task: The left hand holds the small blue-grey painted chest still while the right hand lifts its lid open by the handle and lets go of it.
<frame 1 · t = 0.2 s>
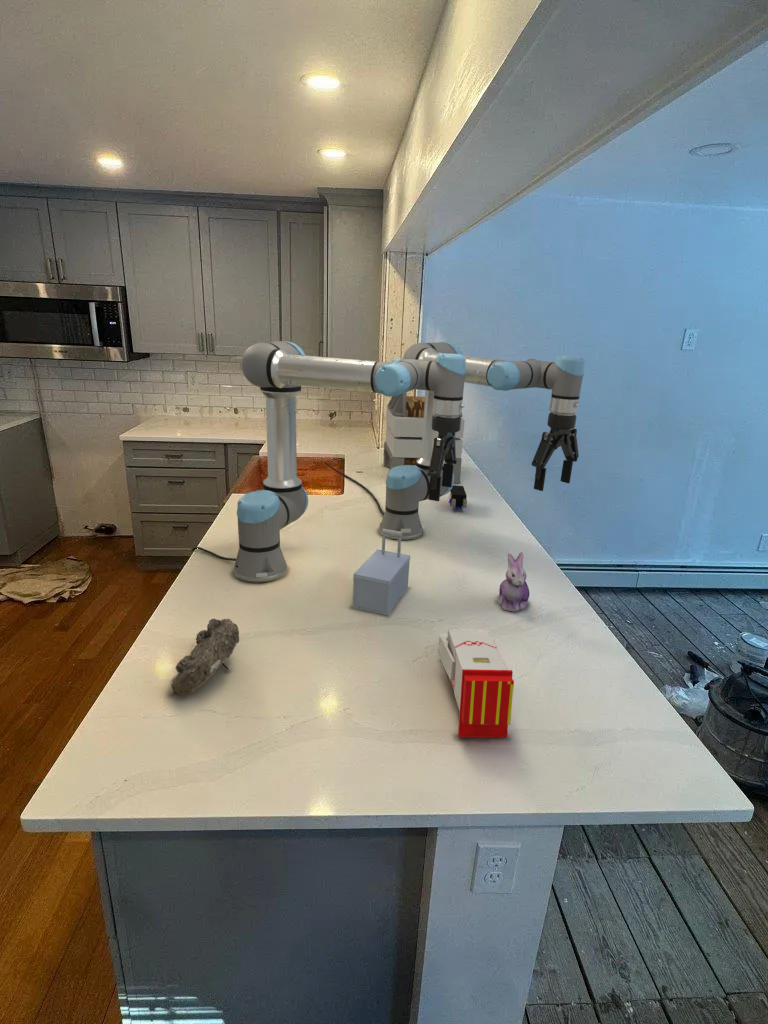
left hand: (440, 493, 154), 28 cm above the counter, tool pointing down, fingers open, 13 cm apart
right hand: (551, 485, 166), 28 cm above the counter, tool pointing down, fingers open, 13 cm apart
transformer: (419, 473, 275), on the counter
figurine: (513, 604, 155), on the counter
toy: (469, 691, 119), on the counter
chest: (381, 597, 156), on the counter
lid: (383, 553, 151), point 13 cm above the counter, hinge at 0.0°
fossil: (211, 668, 122), on the counter
figurine character: (456, 507, 229), on the counter
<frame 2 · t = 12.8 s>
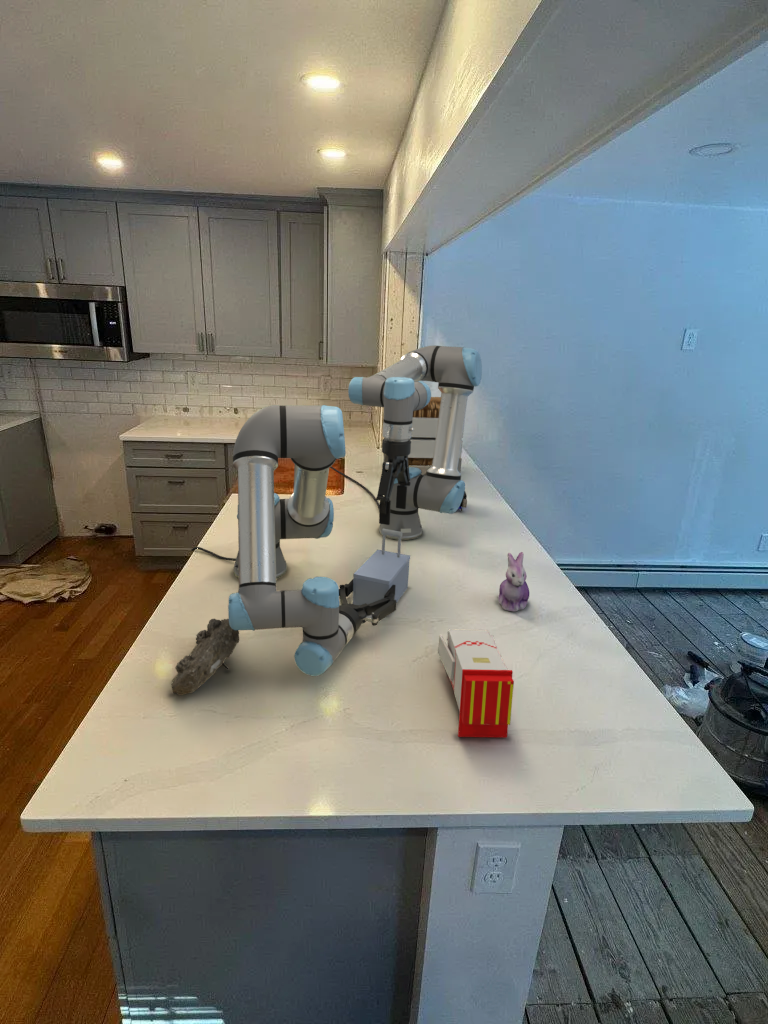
left hand: (374, 585, 148), 6 cm above the counter, tool horizontal, fingers closed on chest, 10 cm apart
right hand: (392, 515, 154), 22 cm above the counter, tool pointing down, fingers open, 13 cm apart
chest: (381, 597, 156), on the counter, touching left hand
everything else where it was.
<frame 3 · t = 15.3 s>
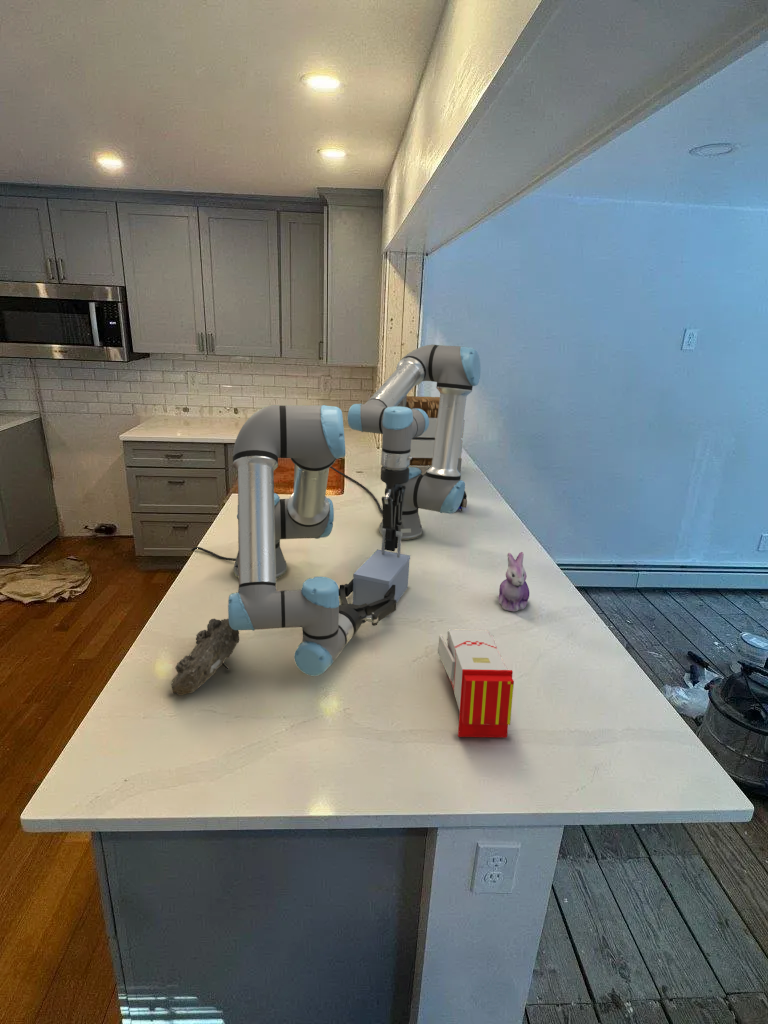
left hand: (374, 585, 148), 6 cm above the counter, tool horizontal, fingers closed on chest, 10 cm apart
right hand: (391, 548, 157), 12 cm above the counter, tool pointing down, fingers closed on lid, 1 cm apart
chest: (381, 597, 155), on the counter, touching left hand
lid: (383, 553, 151), point 13 cm above the counter, hinge at 0.0°, touching right hand
everything else where it was.
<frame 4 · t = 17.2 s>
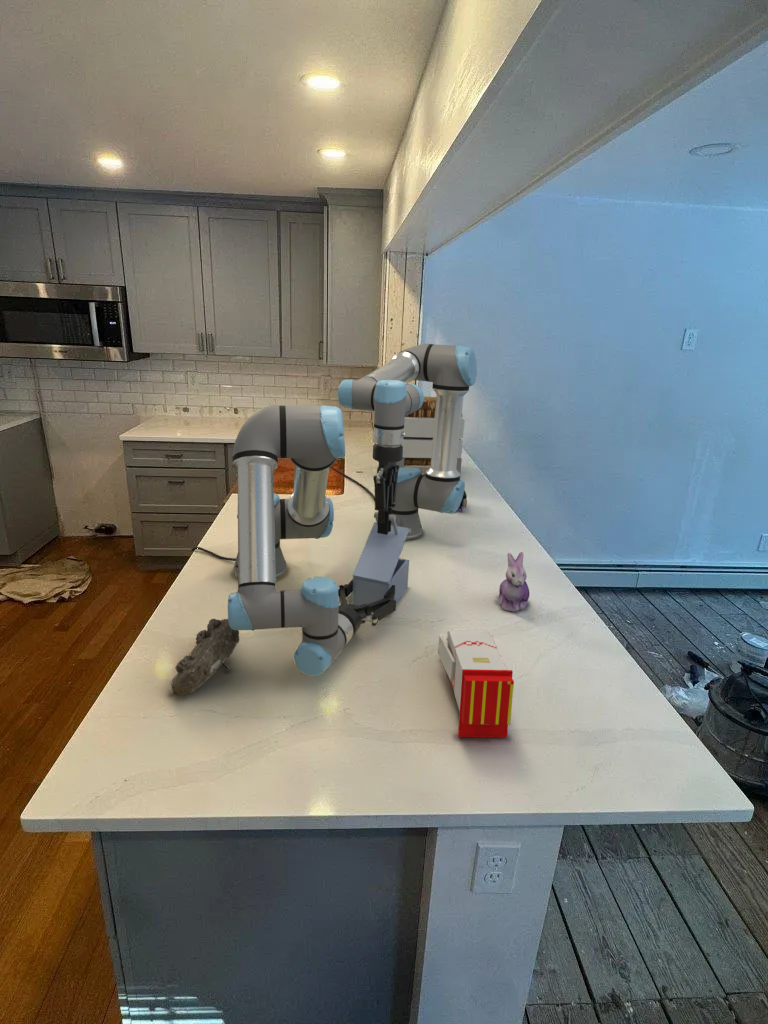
left hand: (374, 585, 148), 6 cm above the counter, tool horizontal, fingers closed on chest, 10 cm apart
right hand: (384, 531, 149), 19 cm above the counter, tool pointing down, fingers closed on lid, 1 cm apart
chest: (380, 597, 155), on the counter, touching left hand
lid: (379, 543, 147), point 17 cm above the counter, hinge at 32.7°, touching right hand
everything else where it was.
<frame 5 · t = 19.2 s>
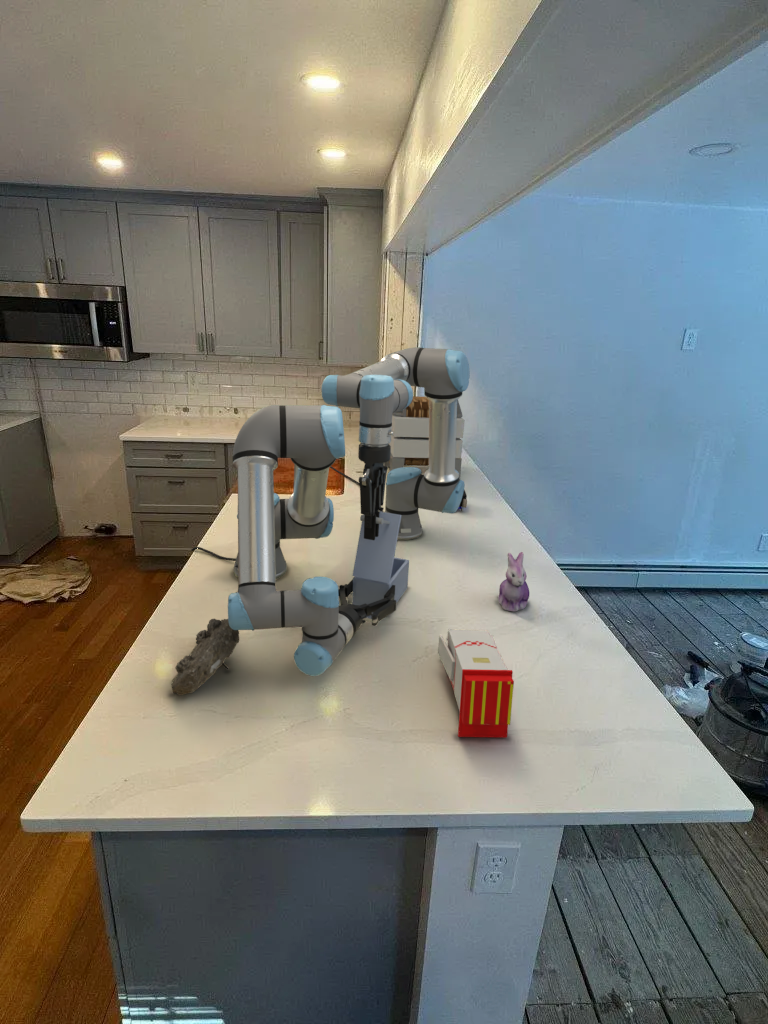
left hand: (374, 585, 148), 6 cm above the counter, tool horizontal, fingers closed on chest, 10 cm apart
right hand: (371, 537, 140), 22 cm above the counter, tool pointing down, fingers closed
chest: (380, 597, 155), on the counter, touching left hand
lid: (372, 545, 141), point 19 cm above the counter, hinge at 67.1°
everything else where it was.
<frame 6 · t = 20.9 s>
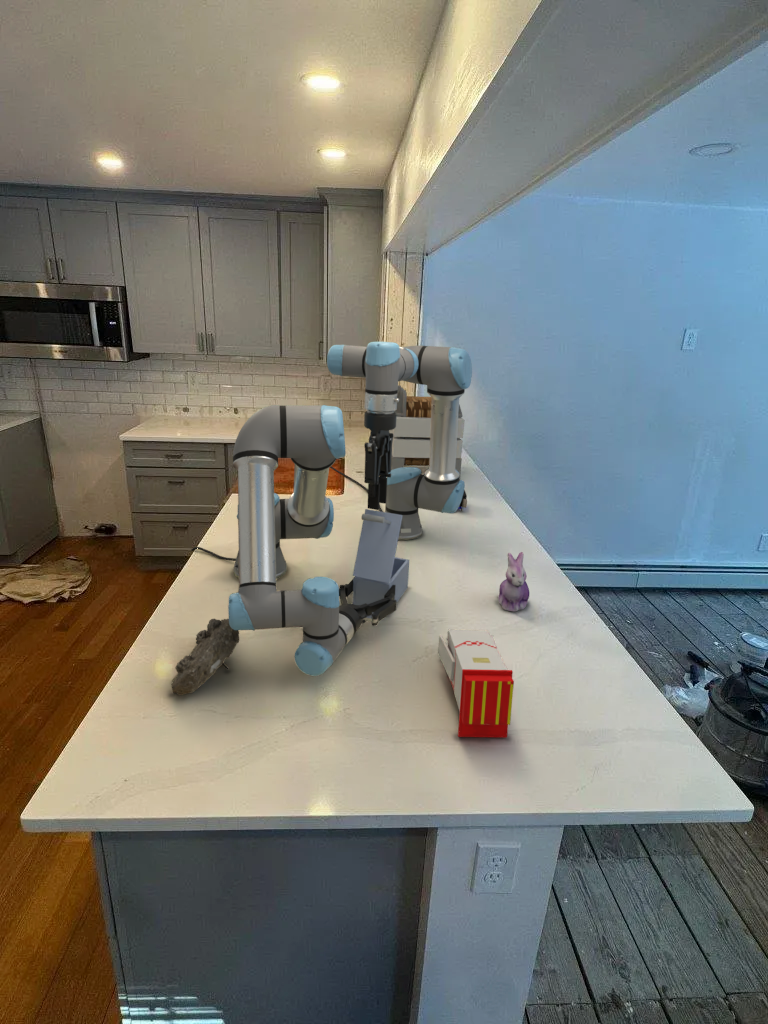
left hand: (374, 585, 148), 6 cm above the counter, tool horizontal, fingers closed on chest, 10 cm apart
right hand: (377, 505, 140), 29 cm above the counter, tool pointing down, fingers open, 4 cm apart
chest: (381, 597, 156), on the counter, touching left hand
lid: (373, 544, 142), point 19 cm above the counter, hinge at 64.6°
everything else where it was.
when the left hand's fingers open (6 cm above the counter, at t = 23.6 s): chest stays where it is, on the counter.
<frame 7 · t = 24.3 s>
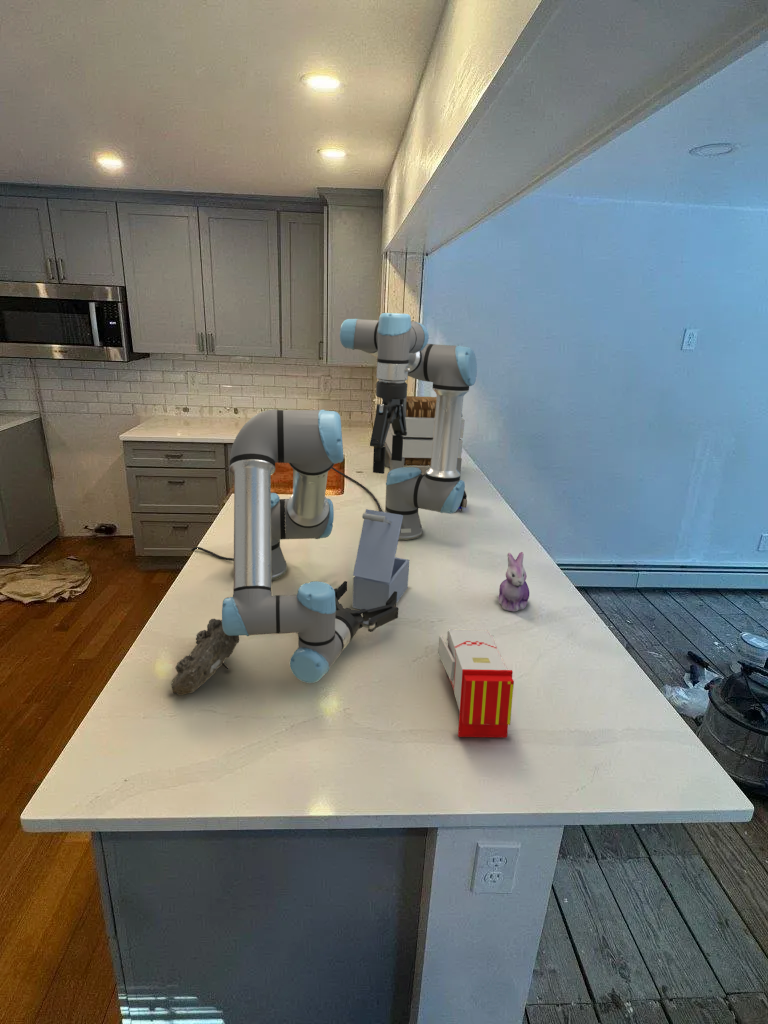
left hand: (370, 590, 145), 7 cm above the counter, tool horizontal, fingers open, 13 cm apart
right hand: (387, 466, 143), 37 cm above the counter, tool pointing down, fingers open, 13 cm apart
chest: (381, 597, 156), on the counter
lid: (373, 544, 142), point 19 cm above the counter, hinge at 63.3°
everything else where it was.
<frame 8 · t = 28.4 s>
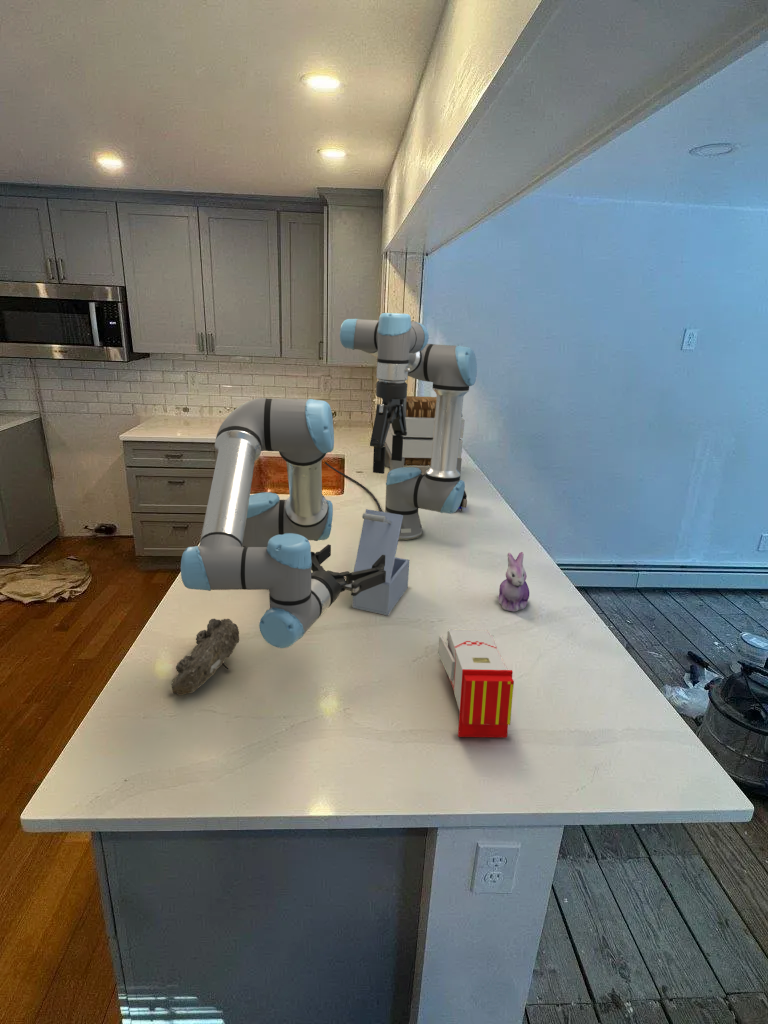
left hand: (356, 554, 132), 21 cm above the counter, tool horizontal, fingers open, 13 cm apart
right hand: (387, 466, 143), 37 cm above the counter, tool pointing down, fingers open, 13 cm apart
nothing on the counter moved.
at the end: lid at +63° (first picture: +0°); the left hand is holding nothing; the right hand is holding nothing; chest tilted 0°; chest never tilted more than 1° during the clip; chest moved 0.0 cm from its start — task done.
